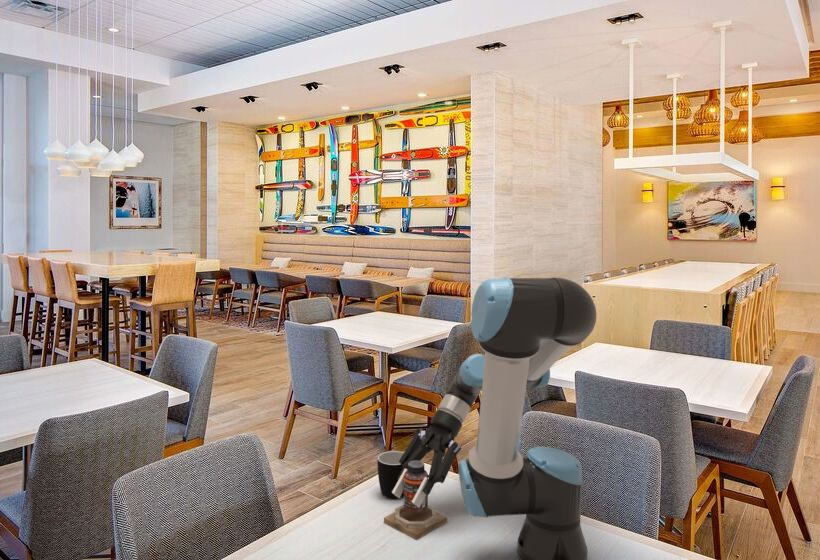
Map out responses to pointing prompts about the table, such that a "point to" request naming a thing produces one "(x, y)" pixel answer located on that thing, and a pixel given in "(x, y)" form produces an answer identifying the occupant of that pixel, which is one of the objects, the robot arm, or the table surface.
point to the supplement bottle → (414, 486)
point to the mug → (389, 472)
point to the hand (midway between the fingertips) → (405, 499)
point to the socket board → (415, 521)
